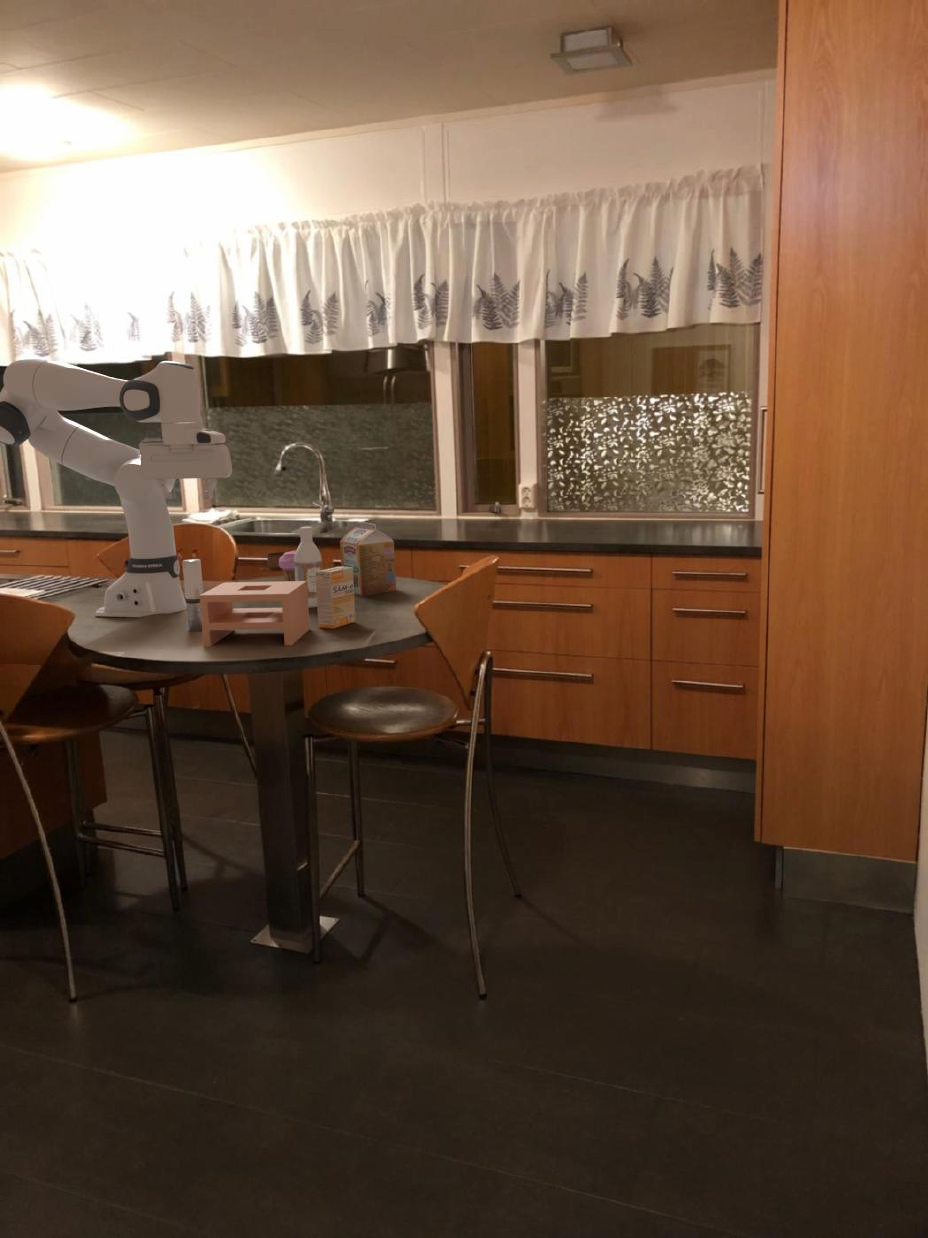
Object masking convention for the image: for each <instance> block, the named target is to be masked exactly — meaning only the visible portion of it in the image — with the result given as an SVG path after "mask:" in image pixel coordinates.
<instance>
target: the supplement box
mask: <svg viewBox="0 0 928 1238" xmlns="http://www.w3.org/2000/svg"><path fill="white" fill-rule="evenodd" d="M315 575H316V592H317V607H316V609H317V622H318V623H317V624H318V626H317V627H319V628H323V629H337V628H341V627H343V626H346V625H350V624H353V623H356V608H355V607H356V604H355V603H356V602H355V601H356V600H355V594H354V581H353V567H341V566H335V567H330V568H325V569H323V570H320V571H315Z"/></svg>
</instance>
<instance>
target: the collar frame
mask: <svg viewBox="0 0 928 1238" xmlns="http://www.w3.org/2000/svg"><path fill="white" fill-rule="evenodd" d="M199 596H200V608H201V619H202V630H203V631H202V639H203V642H202V643H203V647H212V646H213V645H215V644H216V643H218V642H219V641H221V640H222V639H223V638H226V637H227V636H228V635H229V634H231V633H232V632H233V631H242V630H245V631H248V630H249V631H250V630H251V631H253V630H254V631H255V630H256V631H257V630H259V631H260V630H283V637H284V639H283V640H284V646H293V645H294V644H295V643H296V642H297V641H299V639H301V638H302V637H303V636H304V635H305V634H306V633H307V632H308V631H309V630H310V629H311V625H310V623H311V622H310V610H309V609H310V608H309V607H308V592H307V581H285V580H284V581H237V582H236V581H234V582H233V581H232V582H222V583H220V584H218V585H216V586H215V587H213V588H211V589H209V590H207V591H205V592H203V594H201V595H199ZM239 602H242V603H243V602H245V603H246V602H247V603H248V602H249V603H251V602H252V603H253V602H281V607H250V608H249V607H247V608H244V607H243V608H241V607H240V608H238V607H237V608H233V603H239Z"/></svg>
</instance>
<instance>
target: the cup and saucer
mask: <svg viewBox="0 0 928 1238" xmlns="http://www.w3.org/2000/svg"><path fill="white" fill-rule="evenodd" d="M286 552H287V551H285V552H282V551H281V552H280V551H278V552H271V553H270V552H269V553H267V554H266V556H267V557H266V558H267V566H262V567H260V568H259V569H260V571H261V572H266V573H268V572H269V573H275V572H276V573H279V572H283V569H282V568H281V567H280V566H279V559H280V557H281V556H283V554H284V553H286ZM267 568H268V569H267Z"/></svg>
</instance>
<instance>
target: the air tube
mask: <svg viewBox="0 0 928 1238" xmlns="http://www.w3.org/2000/svg"><path fill="white" fill-rule="evenodd" d="M201 560H202V559H198V558H194V559H193V558H192V559H184V560H182V564H181V565H182V573H183V574H182V575H183V583H184V584H183V585H184V595H185V596H184V600H185V602H186V617H187V619H186V620H187V627H188V630H187V631H188V632H191V633H192V632H195V633H196V632H203V630H202V619H201V608H200V596H199V595H201V594H203V593H204V586H203V585H204V584H203V574H202V562H201Z"/></svg>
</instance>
